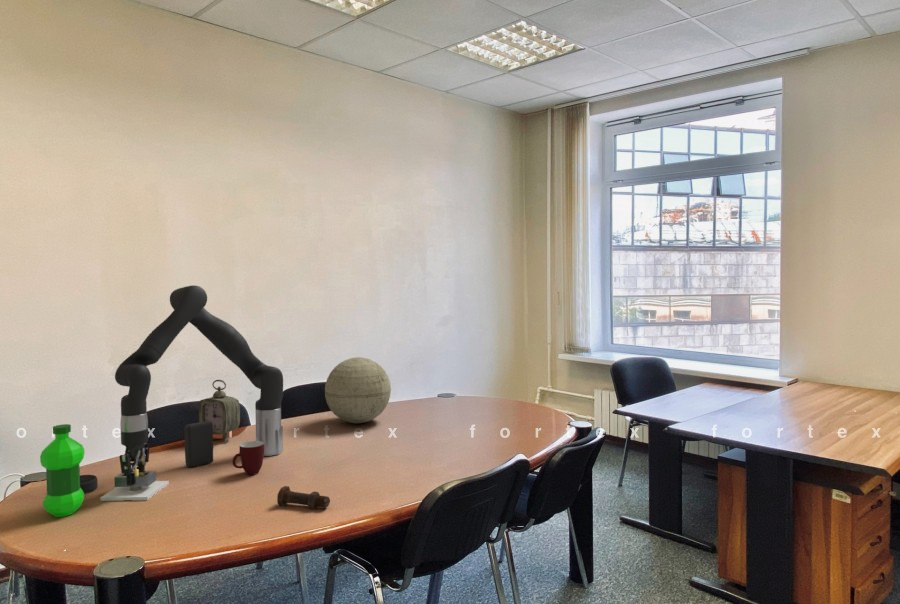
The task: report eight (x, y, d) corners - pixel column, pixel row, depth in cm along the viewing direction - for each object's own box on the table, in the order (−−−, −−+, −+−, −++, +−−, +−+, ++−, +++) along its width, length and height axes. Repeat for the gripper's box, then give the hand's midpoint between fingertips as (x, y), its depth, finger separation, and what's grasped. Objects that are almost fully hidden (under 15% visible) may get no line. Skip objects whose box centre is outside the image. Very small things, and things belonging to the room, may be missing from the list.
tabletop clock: (199, 440, 241) (197, 380, 240) (215, 435, 249) (214, 376, 248) (226, 444, 236) (225, 382, 235) (242, 438, 244) (241, 378, 243)
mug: (239, 480, 194) (238, 450, 193) (228, 474, 199) (228, 445, 199) (269, 473, 201) (268, 444, 200) (258, 467, 207) (257, 439, 206)
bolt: (326, 516, 169) (280, 509, 173) (333, 502, 173) (287, 495, 177) (322, 502, 166) (274, 496, 170) (329, 488, 170) (283, 482, 174)
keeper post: (168, 483, 191) (168, 462, 190) (147, 500, 177) (147, 477, 176) (125, 484, 190) (124, 463, 190) (100, 500, 176) (99, 477, 176)
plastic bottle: (39, 523, 160) (35, 432, 159) (47, 509, 170) (44, 423, 169) (81, 517, 164) (79, 428, 163) (88, 503, 174) (85, 420, 173)
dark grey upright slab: (210, 460, 215) (209, 419, 215) (214, 462, 212) (213, 421, 212) (184, 466, 209) (183, 424, 208) (188, 468, 206) (187, 426, 205)
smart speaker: (73, 498, 179) (72, 485, 179) (58, 492, 184) (58, 480, 183) (103, 489, 186) (103, 476, 186) (88, 484, 191) (88, 472, 191)
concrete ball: (358, 412, 292) (357, 351, 290) (404, 420, 274) (404, 356, 273) (311, 424, 267) (310, 358, 266) (358, 434, 250) (358, 364, 249)
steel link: (156, 480, 186) (156, 471, 186) (147, 486, 181) (147, 477, 181) (124, 480, 186) (124, 471, 186) (114, 487, 181) (114, 477, 180)
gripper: (134, 434, 176) (136, 489, 176) (157, 422, 190) (158, 473, 191) (109, 434, 175) (111, 490, 176) (134, 422, 190) (135, 474, 191)
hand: (135, 481), depth 183 cm, fingers closed on steel link, 5 cm apart
